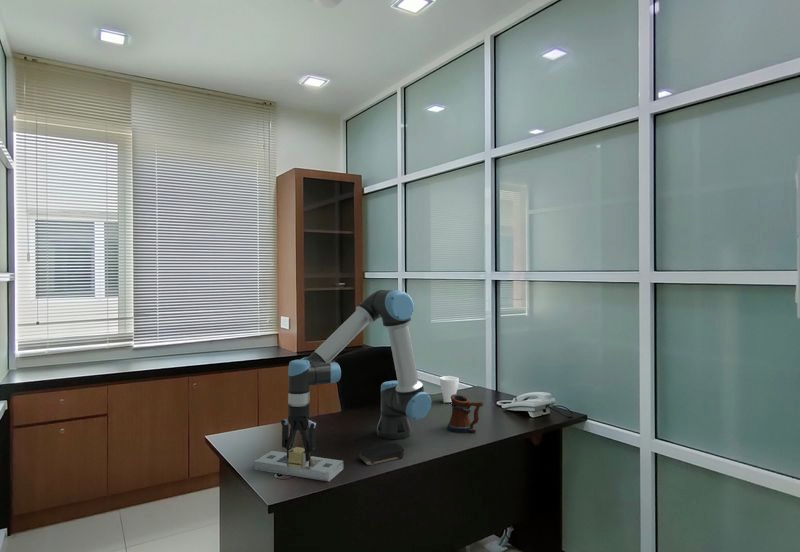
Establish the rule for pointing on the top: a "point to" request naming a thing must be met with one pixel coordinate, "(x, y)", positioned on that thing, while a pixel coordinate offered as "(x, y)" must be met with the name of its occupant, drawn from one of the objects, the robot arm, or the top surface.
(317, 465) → the rail
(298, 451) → the yellow block
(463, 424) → the mug
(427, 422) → the top surface
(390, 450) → the black sponge
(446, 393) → the cup
